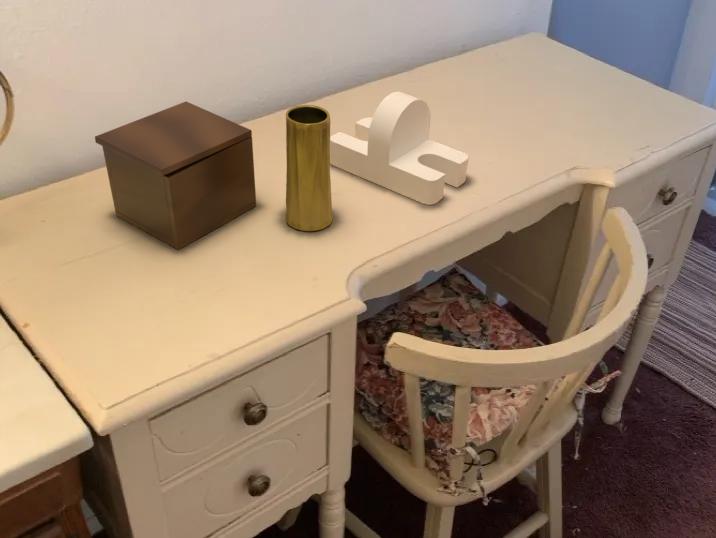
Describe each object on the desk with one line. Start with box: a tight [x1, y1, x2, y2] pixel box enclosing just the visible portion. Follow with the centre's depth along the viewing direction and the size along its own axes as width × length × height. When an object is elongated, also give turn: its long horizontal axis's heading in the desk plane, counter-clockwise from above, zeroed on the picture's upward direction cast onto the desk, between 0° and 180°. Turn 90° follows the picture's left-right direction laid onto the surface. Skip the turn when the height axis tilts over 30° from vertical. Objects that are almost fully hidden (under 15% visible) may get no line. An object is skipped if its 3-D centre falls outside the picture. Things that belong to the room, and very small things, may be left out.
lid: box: [94, 100, 253, 176], centre depth 100 cm, size 14×12×1 cm
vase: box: [284, 104, 334, 232], centre depth 103 cm, size 6×6×14 cm
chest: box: [101, 135, 257, 250], centre depth 105 cm, size 14×12×10 cm
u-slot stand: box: [330, 91, 470, 206], centre depth 114 cm, size 10×18×11 cm, turn 54°
